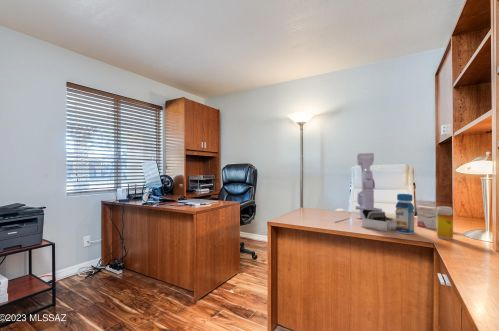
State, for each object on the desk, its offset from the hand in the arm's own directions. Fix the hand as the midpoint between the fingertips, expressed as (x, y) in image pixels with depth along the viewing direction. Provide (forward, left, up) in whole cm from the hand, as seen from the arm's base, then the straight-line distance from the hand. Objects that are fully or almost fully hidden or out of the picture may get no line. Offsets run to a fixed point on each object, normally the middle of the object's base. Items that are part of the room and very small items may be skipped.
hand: (368, 223), depth 143 cm
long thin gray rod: (0, -16, -1) cm, 16 cm away
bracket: (0, +6, -1) cm, 6 cm away
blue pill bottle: (+2, +20, -1) cm, 20 cm away
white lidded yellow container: (-1, +36, -1) cm, 36 cm away
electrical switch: (+1, +4, -1) cm, 4 cm away
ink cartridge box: (-21, +24, -1) cm, 32 cm away
